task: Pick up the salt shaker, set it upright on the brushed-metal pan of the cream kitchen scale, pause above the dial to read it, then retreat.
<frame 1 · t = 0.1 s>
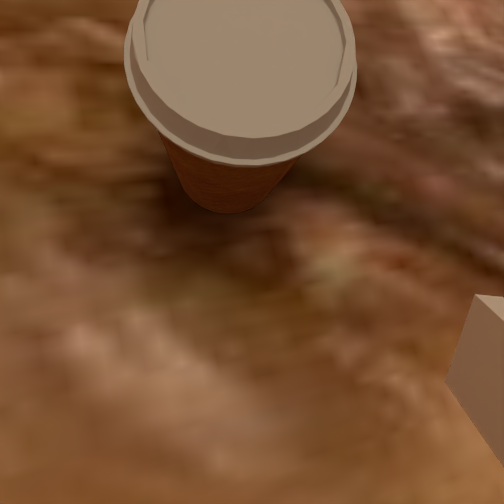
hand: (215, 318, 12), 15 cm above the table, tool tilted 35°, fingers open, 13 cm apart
disposable coffee cup: (226, 168, 29), on the table
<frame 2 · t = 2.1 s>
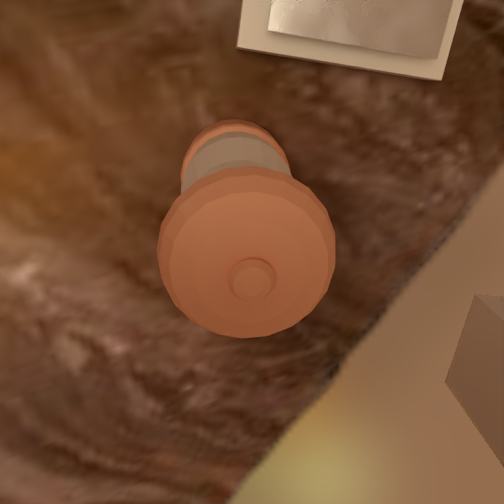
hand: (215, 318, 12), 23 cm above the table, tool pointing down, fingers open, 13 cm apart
salt shaker: (234, 169, 33), on the table
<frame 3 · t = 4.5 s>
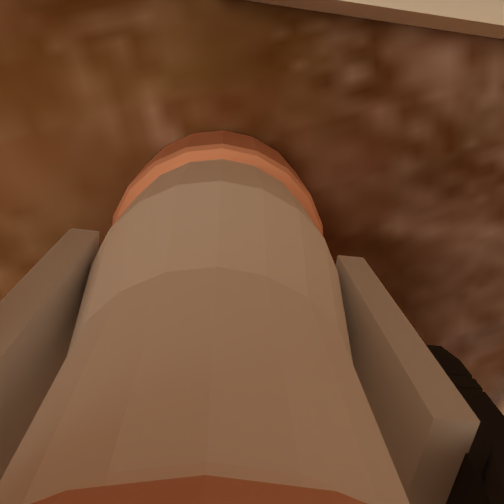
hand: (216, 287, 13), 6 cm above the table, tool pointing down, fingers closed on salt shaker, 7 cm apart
salt shaker: (219, 220, 19), on the table, touching gripper
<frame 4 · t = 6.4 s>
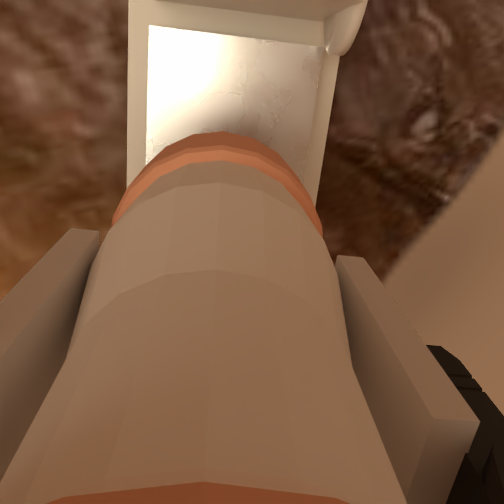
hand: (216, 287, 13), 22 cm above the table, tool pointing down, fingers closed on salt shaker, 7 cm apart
salt shaker: (219, 221, 19), point 16 cm above the table, touching gripper
scale base: (231, 88, 32), on the table
scale pan: (230, 125, 28), point 5 cm above the table, slide at 0.0 cm, touching scale base
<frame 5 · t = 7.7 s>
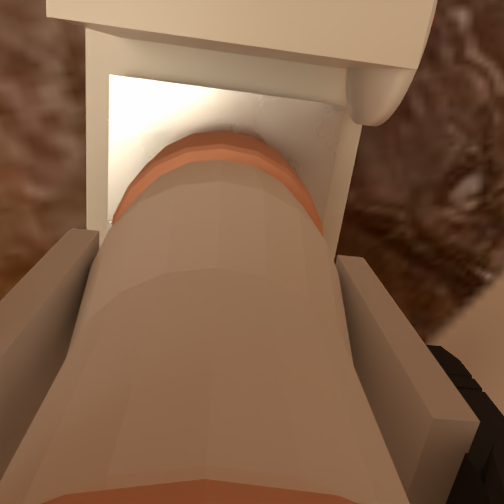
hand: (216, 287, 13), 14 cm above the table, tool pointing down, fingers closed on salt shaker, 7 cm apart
salt shaker: (219, 220, 19), point 8 cm above the table, touching gripper
scale base: (223, 144, 25), on the table
scale pan: (218, 202, 22), point 5 cm above the table, slide at 0.0 cm, touching scale base
when the fingers open (12 cm above the table, at t = 8.3 s): salt shaker drops 1 cm, resting on scale pan.
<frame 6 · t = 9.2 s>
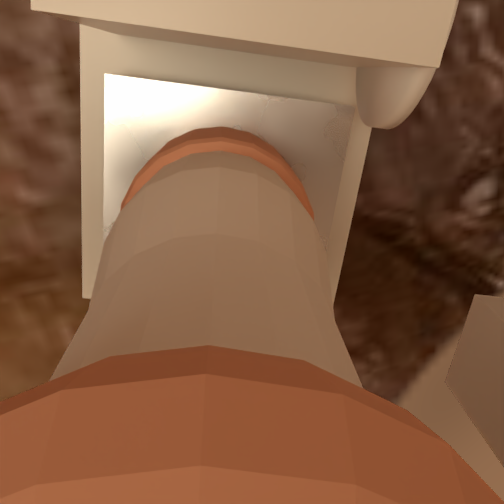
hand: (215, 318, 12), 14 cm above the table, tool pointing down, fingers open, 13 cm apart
salt shaker: (219, 210, 20), point 5 cm above the table, touching scale pan
scale base: (225, 146, 24), on the table
scale pan: (220, 208, 20), point 5 cm above the table, slide at 0.0 cm, touching salt shaker, scale base
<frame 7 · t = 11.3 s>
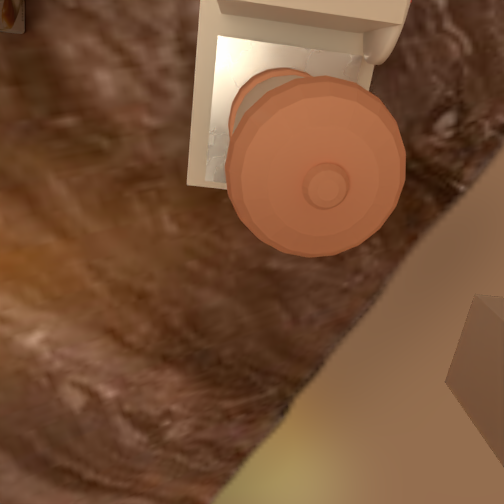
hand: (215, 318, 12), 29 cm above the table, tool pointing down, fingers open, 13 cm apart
salt shaker: (279, 121, 33), point 5 cm above the table, touching scale pan
scale base: (278, 88, 37), on the table
scale pan: (279, 120, 33), point 5 cm above the table, slide at 0.0 cm, touching salt shaker, scale base
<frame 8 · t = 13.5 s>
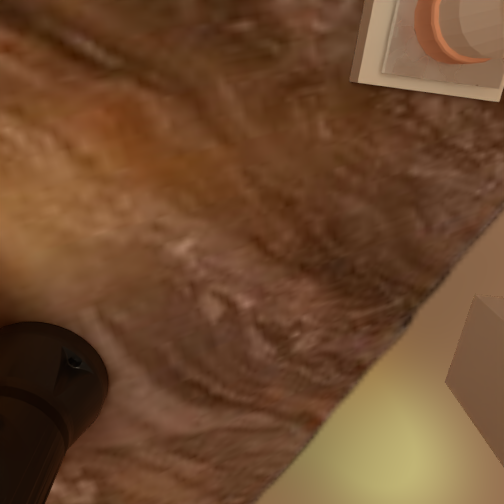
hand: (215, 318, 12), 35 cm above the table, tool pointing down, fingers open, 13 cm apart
salt shaker: (458, 14, 36), point 5 cm above the table, touching scale pan
scale pan: (457, 14, 37), point 5 cm above the table, slide at 0.0 cm, touching salt shaker, scale base
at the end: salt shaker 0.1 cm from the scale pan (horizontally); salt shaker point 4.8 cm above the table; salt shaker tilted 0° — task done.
